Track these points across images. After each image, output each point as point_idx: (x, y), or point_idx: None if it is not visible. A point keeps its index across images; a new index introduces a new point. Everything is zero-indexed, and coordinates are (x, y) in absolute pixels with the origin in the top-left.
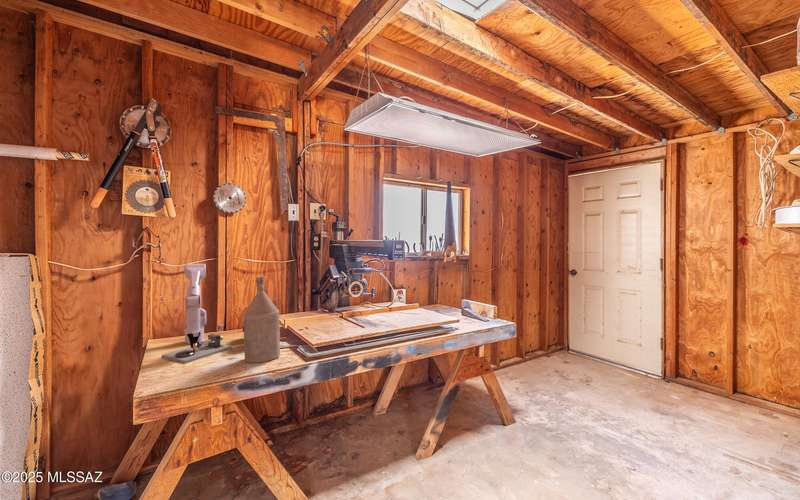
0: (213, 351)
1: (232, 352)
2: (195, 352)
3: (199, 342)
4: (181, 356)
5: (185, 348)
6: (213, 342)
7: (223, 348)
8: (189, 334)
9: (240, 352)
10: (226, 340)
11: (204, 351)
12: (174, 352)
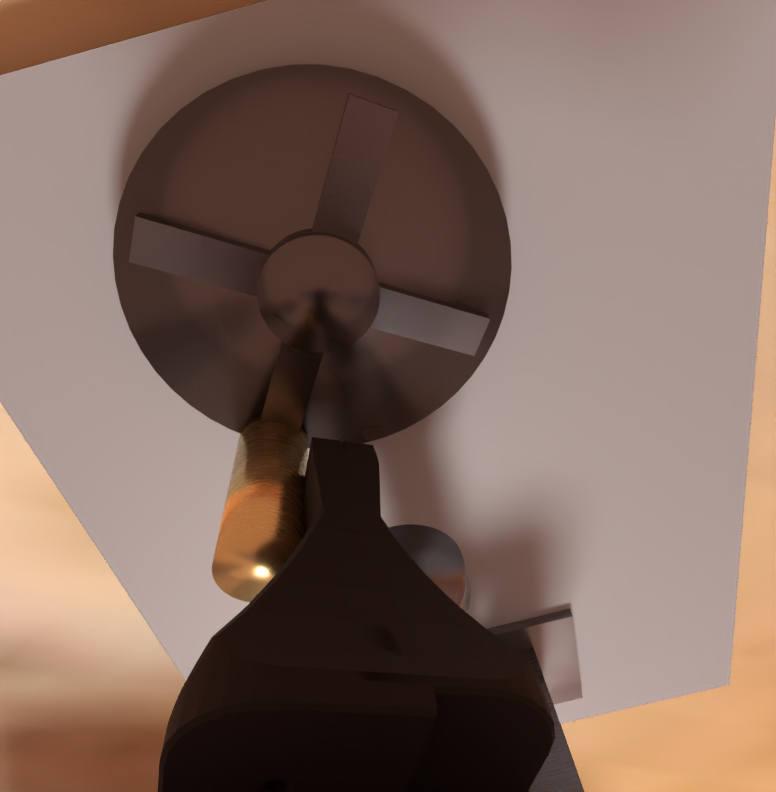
0: (170, 624)
1: (74, 737)
2: None
3: None
4: (145, 150)
5: (740, 395)
6: None
7: None
8: (279, 768)
9: (7, 784)
10: (642, 785)
11: None
12: (697, 168)
